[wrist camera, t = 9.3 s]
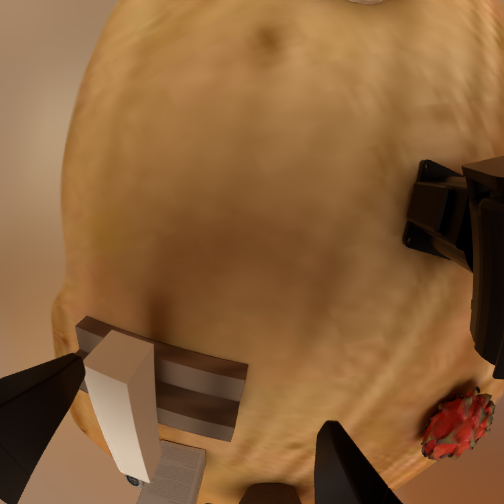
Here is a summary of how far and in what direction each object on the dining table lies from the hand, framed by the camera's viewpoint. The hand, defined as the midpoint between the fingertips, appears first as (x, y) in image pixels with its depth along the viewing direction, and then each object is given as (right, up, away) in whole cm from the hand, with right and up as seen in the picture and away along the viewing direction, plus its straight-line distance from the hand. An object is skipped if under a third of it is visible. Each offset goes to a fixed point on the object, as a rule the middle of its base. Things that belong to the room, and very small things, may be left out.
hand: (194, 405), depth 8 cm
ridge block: (-7, -6, +15) cm, 18 cm away
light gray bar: (-7, -8, +10) cm, 15 cm away
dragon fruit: (+26, -14, +15) cm, 33 cm away
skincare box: (-7, -21, +20) cm, 30 cm away
